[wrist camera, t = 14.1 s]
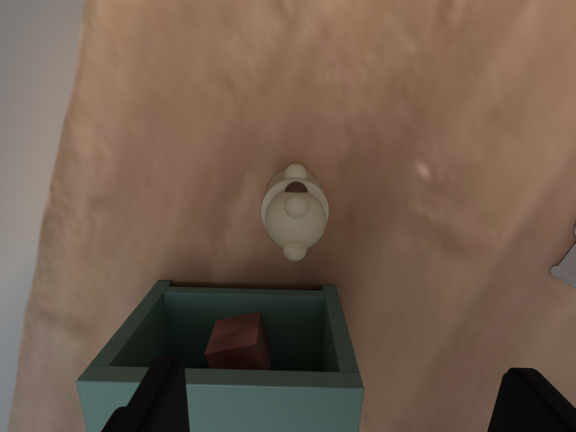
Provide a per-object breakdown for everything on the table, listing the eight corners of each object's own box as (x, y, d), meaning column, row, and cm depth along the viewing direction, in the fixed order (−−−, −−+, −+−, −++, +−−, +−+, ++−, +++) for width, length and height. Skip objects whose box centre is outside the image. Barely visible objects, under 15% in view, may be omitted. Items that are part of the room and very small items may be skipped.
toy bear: (324, 158, 24) (341, 178, 16) (319, 231, 26) (333, 283, 18) (266, 157, 24) (253, 175, 16) (265, 230, 26) (254, 281, 18)
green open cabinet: (335, 284, 28) (364, 388, 17) (328, 373, 31) (348, 509, 20) (158, 280, 28) (75, 381, 17) (168, 369, 31) (102, 503, 20)
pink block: (260, 310, 26) (255, 343, 22) (272, 348, 27) (269, 385, 23) (216, 320, 26) (203, 353, 23) (229, 356, 28) (219, 394, 24)
